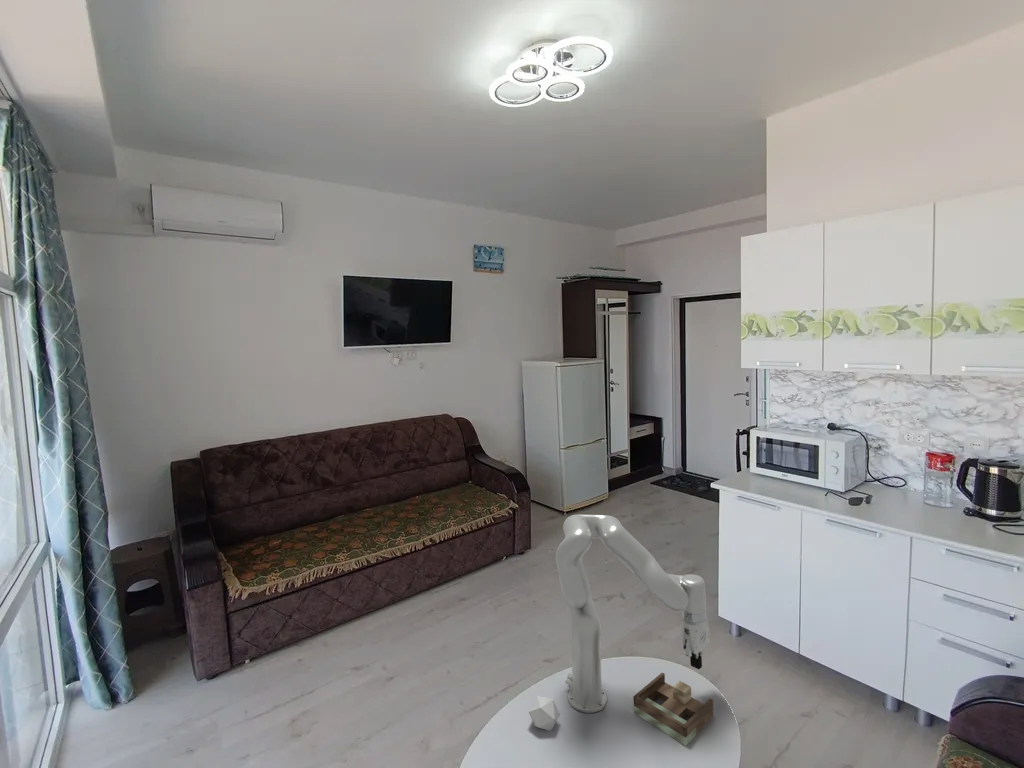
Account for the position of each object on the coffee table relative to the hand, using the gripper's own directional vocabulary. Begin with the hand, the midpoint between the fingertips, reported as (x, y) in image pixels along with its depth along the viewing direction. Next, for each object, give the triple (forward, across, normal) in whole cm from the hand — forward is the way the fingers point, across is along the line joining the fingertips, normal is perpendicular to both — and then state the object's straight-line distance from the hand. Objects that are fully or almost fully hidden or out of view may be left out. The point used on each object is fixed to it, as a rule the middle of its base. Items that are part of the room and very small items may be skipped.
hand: (696, 666), depth 163 cm
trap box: (+9, -14, +1) cm, 17 cm away
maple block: (+7, -8, +1) cm, 11 cm away
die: (+8, -46, +26) cm, 53 cm away
